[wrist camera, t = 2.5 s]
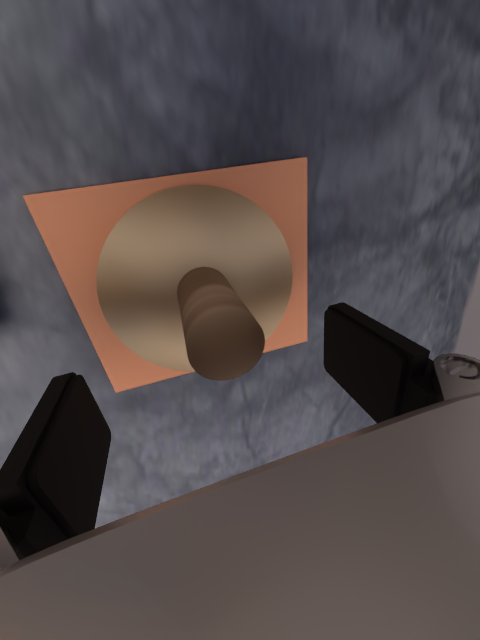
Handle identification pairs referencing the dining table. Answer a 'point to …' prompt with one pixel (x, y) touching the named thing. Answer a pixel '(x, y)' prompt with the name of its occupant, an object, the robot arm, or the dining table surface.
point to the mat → (117, 198)
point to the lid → (195, 280)
